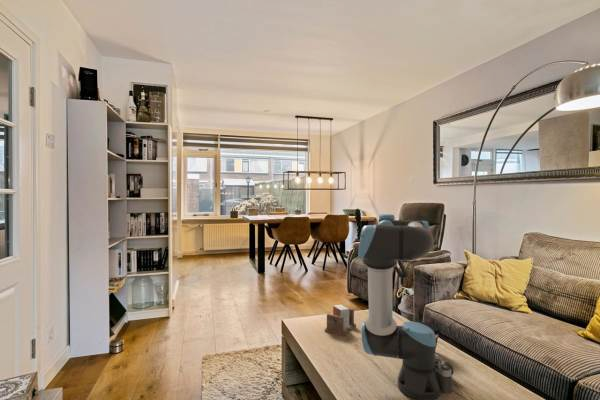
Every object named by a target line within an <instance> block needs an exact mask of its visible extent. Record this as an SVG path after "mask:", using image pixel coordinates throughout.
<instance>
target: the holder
mask: <svg viewBox="0 0 600 400" xmlns="http://www.w3.org/2000/svg"><path fill="white" fill-rule="evenodd" d="M348 308H349V307H348ZM356 325H357V324H356V323H355V308H349V328H346V329H343V328H344V317H341V316H336V315H333V313H332V314H331V313H327V314H326V328H324V332H325V333H329V334H332V335H337V336H340V337H345V336H346V335H347V334H348V333H349V332H350V331H352V330H353V328H355V327H356Z"/></svg>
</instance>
